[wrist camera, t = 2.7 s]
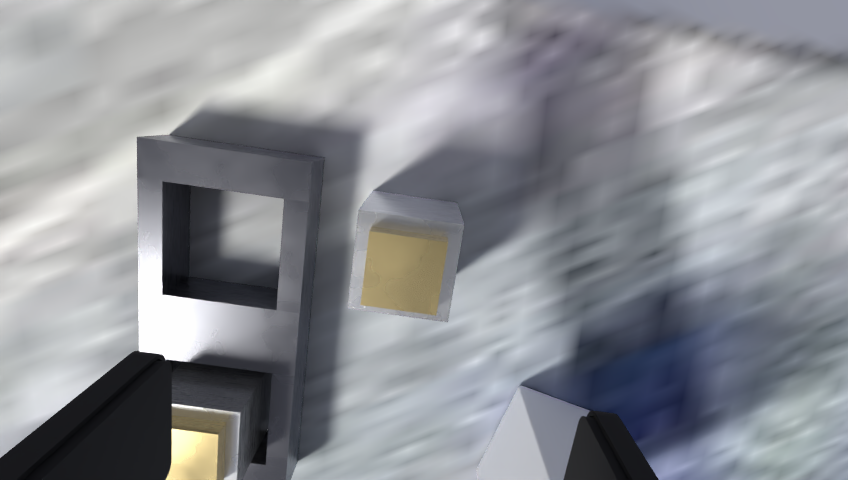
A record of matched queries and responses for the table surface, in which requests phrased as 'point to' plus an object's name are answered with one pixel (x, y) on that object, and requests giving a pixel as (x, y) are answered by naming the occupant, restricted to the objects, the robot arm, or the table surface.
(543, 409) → the milk carton
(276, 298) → the dark grey slotted board
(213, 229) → the table surface
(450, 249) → the grey and tan block
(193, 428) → the tan topped grey block
